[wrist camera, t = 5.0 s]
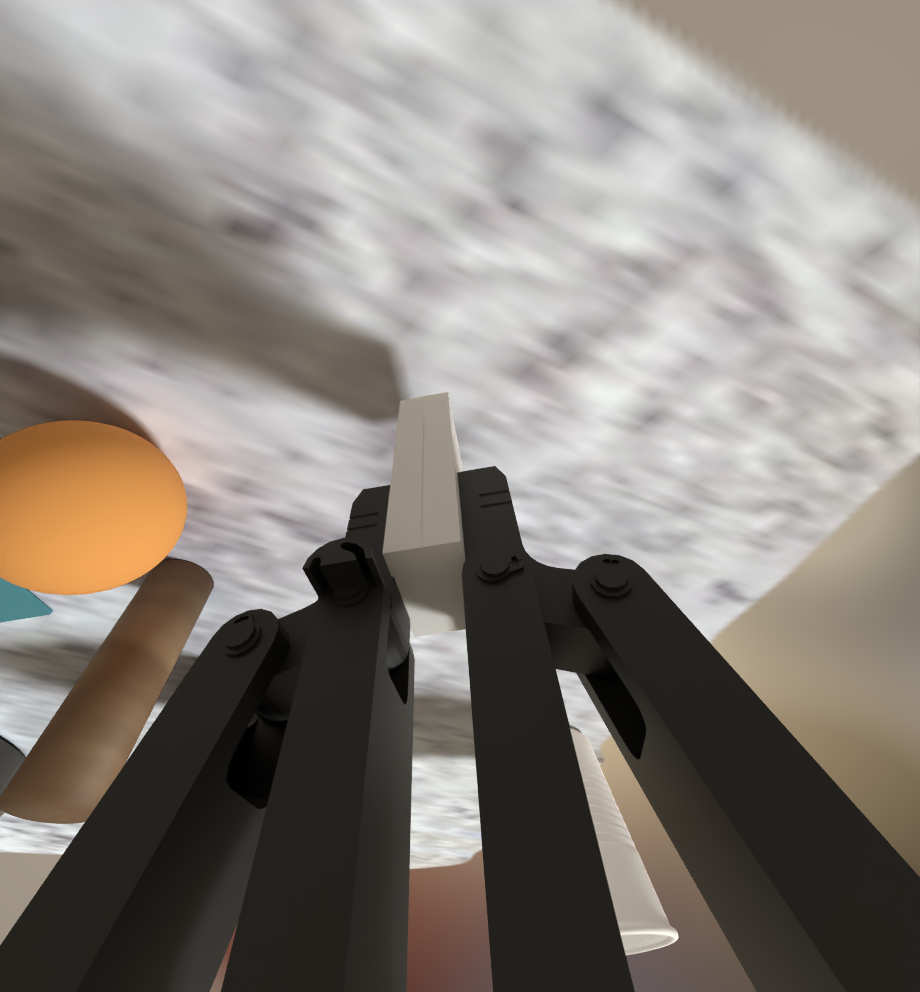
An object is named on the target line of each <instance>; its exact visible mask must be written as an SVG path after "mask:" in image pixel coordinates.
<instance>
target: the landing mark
mask: <svg viewBox="0 0 920 992" xmlns="http://www.w3.org/2000/svg"><path fill="white" fill-rule="evenodd" d="M51 613H52V610H51V609H50V608H49V607H48V606H46V605H45V604H44V603H43V602H42V601H40V600H39V599H38V598H37V597H36V596H34V595H33V594H32V593H31V592H30V591H28V590H27V589H25V588H22V587H20V586H17V585H14V584H12V583H10V582H8V581H6V580H4V579H2V578H0V622H5V621H12V620H18V619H24V618H31V617H37V616H43V615H50V614H51Z"/></svg>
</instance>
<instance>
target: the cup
mask: <svg viewBox="0 0 920 992" xmlns="http://www.w3.org/2000/svg"><path fill="white" fill-rule="evenodd" d="M570 730H571V734H572V738H573V742H574V746H575V751H576V755H577V759H578V763H579V767H580V771H581V775H582V779H583V783H584V787H585V791H586V795H587V799H588V804H589V808H590V812H591V816H592V820H593V824H594V828H595V832H596V836H597V840H598V844H599V848H600V853H601V857H602V861H603V865H604V869H605V873H606V877H607V881H608V885H609V889H610V893H611V897H612V901H613V906H614V910H615V914H616V918H617V922H618V926H619V930H620V934H621V938H622V942H623V946H624V950H625V954H626V955H630V954H635V953H640V952H645V951H650V950H654V949H657V948H661V947H664V946H667V945H669V944H672V943H674V942H675V941H676V940H677V939H678V933H677V931H676V930H675V929H674V928H673V927H671V926H670V924H669V922H668V920H667V917H666V915H665V913H664V911H663V908H662V906H661V904H660V902H659V899H658V897H657V895H656V892H655V890H654V888H653V886H652V883H651V881H650V879H649V876H648V874H647V872H646V870H645V867H644V865H643V863H642V860H641V858H640V856H639V854H638V851H637V850H636V849H635V846H634V843H633V841H632V839H631V836H630V833H629V832H628V830H627V827H626V824H625V823H624V821H623V818H622V815H621V814H620V811H619V808H618V806H617V805H616V802H615V799H614V797H613V796H612V792H611V790H610V789H609V786H608V783H607V781H606V779H605V776H604V774H603V773H602V770H601V767H600V765H599V762H598V760H597V758H596V756H595V753H594V751H593V749H592V746H591V744H590V742H589V740H588V738H587V737H586V736H585V735H583V734H581V733H580V732H579V731H577V730H575V729H572V728H570Z"/></svg>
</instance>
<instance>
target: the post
mask: <svg viewBox="0 0 920 992" xmlns="http://www.w3.org/2000/svg"><path fill="white" fill-rule="evenodd" d="M213 587H214V582H213V579H212V577H211V575H210V574H209V573H208V572H207V571H206V570H204V569H203V568H202V567H200V566H198V565H196V564H194V563H191V562H188V561H183V560H165V561H162V562H160V563H159V564H158V565H157V566H155V567H154V568H153V569H152V571H151V572H150V574H149V575H148V577H147V578H146V580H145V581H144V582H143V584H142V585H141V587H140V588H139V590H138V591H137V593H136V594H135V596H134V597H133V599H132V600H131V602H130V603H129V605H128V606H127V608H126V609H125V611H124V612H123V614H122V615H121V617H120V618H119V620H118V621H117V623H116V624H115V626H114V627H113V629H112V630H111V632H110V633H109V635H108V636H107V638H106V639H105V641H104V642H103V644H102V645H101V647H100V648H99V650H98V651H97V653H96V654H95V656H94V657H93V659H92V660H91V662H90V663H89V665H88V666H87V668H86V669H85V671H84V672H83V674H82V675H81V676H80V678H79V679H78V681H77V682H76V684H75V685H74V687H73V688H72V690H71V691H70V693H69V694H68V696H67V697H66V699H65V700H64V702H63V703H62V705H61V706H60V708H59V709H58V711H57V712H56V714H55V715H54V717H53V718H52V720H51V721H50V723H49V724H48V726H47V727H46V729H45V730H44V732H43V733H42V735H41V736H40V738H39V739H38V741H37V742H36V744H35V745H34V747H33V748H32V750H31V751H30V753H29V754H28V756H27V757H26V759H25V760H24V762H23V763H22V765H21V766H20V768H19V769H18V770H17V772H16V773H15V775H14V776H13V778H12V779H11V781H10V782H9V784H8V785H7V787H6V788H5V790H4V791H3V793H2V794H1V796H0V809H1V810H2V811H4V812H5V813H8V814H10V815H12V816H15V817H19V818H22V819H26V820H31V821H37V822H44V823H57V824H71V823H82V822H86V820H87V819H88V817H89V816H90V814H91V813H92V811H93V810H94V809H95V807H96V806H97V804H98V803H99V801H100V800H101V798H102V797H103V795H104V794H105V793H106V791H107V790H108V788H109V787H110V785H111V784H112V782H113V781H114V779H115V778H116V777H117V775H118V774H119V772H120V771H121V769H122V768H123V766H124V765H125V763H126V761H127V759H128V757H129V755H130V753H131V751H132V749H133V747H134V745H135V743H136V741H137V739H138V737H139V735H140V733H141V731H142V729H143V727H144V725H145V723H146V721H147V719H148V717H149V715H150V713H151V711H152V709H153V707H154V705H155V703H156V701H157V699H158V697H159V695H160V693H161V691H162V689H163V687H164V685H165V683H166V681H167V679H168V677H169V675H170V673H171V671H172V669H173V667H174V665H175V663H176V661H177V659H178V657H179V655H180V653H181V651H182V649H183V647H184V645H185V643H186V641H187V639H188V637H189V635H190V633H191V631H192V629H193V627H194V625H195V623H196V621H197V619H198V617H199V615H200V613H201V611H202V609H203V607H204V605H205V603H206V601H207V599H208V597H209V595H210V593H211V591H212V589H213Z"/></svg>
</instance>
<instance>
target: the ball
mask: <svg viewBox="0 0 920 992" xmlns="http://www.w3.org/2000/svg"><path fill="white" fill-rule="evenodd" d="M186 515H187V497H186V492H185V488H184V484H183V482H182V479H181V477H180V475H179V473H178V472H177V470H176V468H175V467H174V466H173V464H172V463H171V462H170V460H169V459H168V458H167V457H166V456H165V455H164V454H163V453H162V452H161V451H160V450H159V449H158V448H156V447H155V446H154V445H153V444H151V443H150V442H148V441H147V440H145V439H143V438H141V437H140V436H138V435H136V434H134V433H132V432H130V431H127V430H124V429H122V428H119V427H116V426H112V425H108V424H104V423H98V422H92V421H79V420H67V421H54V422H48V423H42V424H38V425H34V426H30V427H27V428H24V429H21V430H19V431H16V432H14V433H12V434H9V435H7V436H6V437H4V438H2V439H0V578H2V579H4V580H6V581H8V582H10V583H12V584H14V585H17V586H20V587H22V588H25V589H29V590H33V591H38V592H42V593H49V594H60V595H78V594H90V593H95V592H100V591H105V590H110V589H113V588H116V587H118V586H121V585H124V584H127V583H129V582H131V581H133V580H135V579H137V578H139V577H141V576H142V575H144V574H146V573H147V572H148V571H150V570H151V569H153V568H154V567H155V566H157V565H158V564H159V563H160V562H161V561H162V560H163V559H164V558H165V557H166V556H167V555H168V554H169V553H170V551H171V550H172V549H173V547H174V546H175V544H176V542H177V541H178V539H179V537H180V535H181V533H182V531H183V527H184V524H185V520H186Z"/></svg>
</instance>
